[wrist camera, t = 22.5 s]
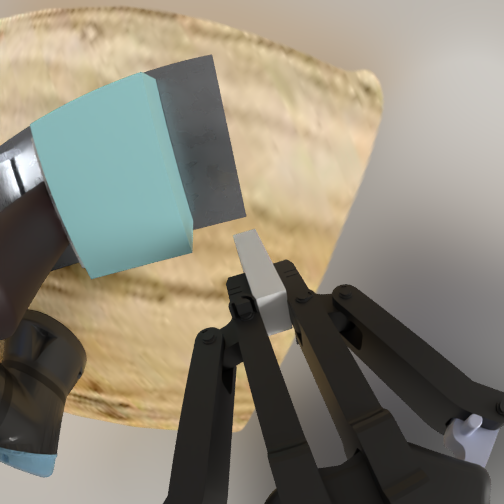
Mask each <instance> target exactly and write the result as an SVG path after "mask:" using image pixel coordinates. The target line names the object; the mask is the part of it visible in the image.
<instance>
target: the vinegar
mask: <svg viewBox="0 0 504 504" xmlns="http://www.w3.org/2000/svg"><path fill="white" fill-rule="evenodd" d="M69 244H70V242H69V240H68V238H67V235H66V233H65V231H64V229H63V227H62V224H61V221H60V219H59V217H58V215H57V213H56V210H55V208H54V206H53V203H52V201H51V198H50V196H49V193H48V190H47V188H46V185H45V182H44V181H42V182H41V183H39V184H38V185H36V186H35V187H33V188H32V189H30V190H29V191H28V192H26V193H25V194H23V195H22V196H21V197H19V198H18V199H17V200H15V201H14V202H13V203H11V204H10V205H9V206H7V207H6V208H5V209H3V210H2V211H1V212H0V340H4V339H6V338H9V337H11V336H12V335H13V334H14V333H15V331H16V329H17V327H18V325H19V323H20V321H21V320H22V318H23V316H24V314H25V312H26V310H27V309H28V307H29V305H30V303H31V302H32V300H33V298H34V297H35V295H36V293H37V292H38V290H39V288H40V287H41V285H42V283H43V282H44V280H45V279H46V277H47V276H48V274H49V272H50V271H51V269H52V268H53V266H54V265H55V263H56V262H57V261H58V259H59V258H60V256H61V255H62V253H63V252H64V251H65V249H66V248H67V246H68V245H69Z"/></svg>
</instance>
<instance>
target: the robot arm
mask: <svg viewBox="0 0 504 504" xmlns="http://www.w3.org/2000/svg"><path fill="white" fill-rule="evenodd" d="M233 237H234V241H235V244H236V248H237V251H238V255H239V258H240V262H241V265H242V269H243V272H244V273H243V274H239V275H236V276H232V277H229V278H228V280H227V283H226V286H227V290H228V295H229V299H230V303H229V310H230V313H231V315H232V319H231V321H230V322H229V323H228V324H227V325H226V326H225V327H223V328H221V329H220V330H219V329H217V328H214V327H210V328H206V329H204V330H202V331H200V332H199V333H198V335H197V337H196V339H195V344H194V349H193V353H192V358H191V363H190V368H189V373H188V378H187V384H186V389H185V394H184V399H183V405H182V410H181V416H180V422H179V427H178V433H177V440H176V445H175V451H174V458H173V464H172V471H171V478H170V484H169V491H168V496H167V498H166V500H165V501H164V503H163V504H227V498H228V485H229V469H230V454H231V439H232V425H233V410H234V396H235V382H236V368H237V367H236V365H238V364H240V363H241V362H244V366H245V370H246V374H247V378H248V382H249V386H250V389H251V393H252V397H253V401H254V404H255V408H256V412H257V416H258V419H259V422H260V426H261V430H262V434H263V437H264V440H265V444H266V448H267V452H268V460H269V463H270V467H271V470H272V474H273V477H274V481H275V484H276V487H277V488H276V489H275V490H274V491H273V492H272V493H271V494H270V496H269V497H268V498H267V500H266V502H265V504H490V491H491V479H490V476H489V474H488V472H487V470H486V469H484V468H485V465H486V463H487V461H488V458H489V456H490V453H491V450H492V448H493V445H494V442H495V440H496V437H497V434H498V431H499V429H500V428H501V427H502V426H503V425H504V392H501V391H498V390H495V389H493V388H490V387H487V386H484V385H481V384H479V383H476V382H474V381H472V380H471V379H470V378H468V377H467V376H466V375H465V374H464V373H463V372H461V371H460V370H459V369H458V368H457V367H455V366H454V365H453V364H452V363H450V362H449V361H448V360H447V359H446V358H444V357H443V356H442V355H441V354H440V353H438V352H437V351H436V350H435V349H434V348H432V347H431V346H430V345H428V344H427V343H426V342H425V341H424V340H422V339H421V338H420V337H419V336H417V335H416V334H415V333H413V332H412V331H411V330H410V329H409V328H407V327H406V326H404V324H402V323H401V322H400V321H399V320H397V319H396V318H395V317H393V316H392V315H391V314H389V313H388V312H387V311H386V310H384V309H383V308H382V307H381V306H379V305H378V304H377V303H375V302H374V301H373V300H371V299H370V298H369V297H367V296H366V295H365V294H364V293H362V292H361V291H360V290H358V289H357V288H356V287H354V286H352V285H347V284H345V285H340V286H337V287H336V288H335V289H334V290H333V292H332V294H321V295H320V294H316V293H314V292H313V291H312V290H310V289H308V287H307V285H306V284H305V282H304V280H303V279H302V277H301V276H300V274H299V272H298V271H297V270H296V267H295V266H294V264H293V263H292V262H290V261H288V260H283V261H280V262H277V263H274V264H273V263H272V261H271V259H270V257H269V255H268V253H267V251H266V249H265V247H264V245H263V243H262V241H261V240H260V238H259V236H258V234H257V232H256V230H255V229H253V230H249V231H246V232H242V233H239V234H236V235H233ZM292 325H293V327H294V329H295V335H296V342H297V344H299V345H300V347H301V349H302V351H303V354H304V356H305V358H306V360H307V363H308V365H309V367H310V369H311V372H312V374H313V376H314V379H315V381H316V383H317V385H318V388H319V390H320V392H321V395H322V397H323V399H324V401H325V404H326V406H327V408H328V410H329V413H330V415H331V417H332V419H333V422H334V424H335V426H336V429H337V431H338V433H339V436H340V438H341V440H342V443H343V446H344V451H345V454H346V457H347V459H348V460H347V461H346V462H344V463H343V464H341V465H339V466H334V467H326V468H317V465H316V463H315V460H314V458H313V455H312V452H311V450H310V447H309V445H308V443H307V441H306V438H305V436H304V433H303V431H302V428H301V425H300V422H299V420H298V417H297V414H296V412H295V409H294V406H293V403H292V401H291V398H290V395H289V393H288V390H287V387H286V384H285V381H284V379H283V376H282V373H281V370H280V368H279V365H278V362H277V359H276V356H275V354H274V351H273V348H272V345H271V342H270V340H269V337H268V336H270V335H273V334H276V333H279V332H283V331H286V330H289V329H292ZM348 348H350V349H351V350H352V351H353V352H354V353H355V354H356V355H357V356H358V357H359V358H360V359H361V360H362V361H363V362H364V363H365V364H366V365H367V366H368V367H369V368H370V369H371V370H372V371H373V372H374V373H375V374H376V375H377V376H378V377H379V378H380V379H381V380H382V381H383V382H384V383H386V385H387V386H388V387H389V388H390V389H392V390H393V391H394V392H395V393H396V394H397V395H398V396H399V397H400V398H401V399H402V400H403V401H404V402H405V403H406V404H407V405H408V406H409V407H410V408H411V409H412V410H413V411H414V412H415V413H416V414H417V415H418V416H419V417H420V418H421V419H422V420H423V421H424V422H426V423H427V424H428V425H429V426H430V427H431V428H433V429H434V430H436V431H437V432H439V433H441V434H443V435H444V446H445V447H446V448H447V449H449V450H450V451H452V452H453V454H454V455H455V458H453V457H450V456H447V455H444V454H441V453H438V452H435V451H432V450H429V449H426V448H423V447H421V446H418V445H415V444H413V443H409V442H407V441H406V439H405V438H404V436H403V434H402V432H401V430H400V428H399V426H398V425H397V423H396V421H395V419H394V417H393V416H392V414H391V413H390V412H389V411H388V410H387V409H383V408H382V407H381V405H380V403H379V402H378V400H377V398H376V396H375V395H374V393H373V391H372V389H371V387H370V386H369V384H368V382H367V380H366V378H365V377H364V375H363V373H362V372H361V370H360V368H359V366H358V365H357V363H356V361H355V360H354V358H353V356H352V354H351V352H350V351H349V349H348ZM86 360H87V358H86V353H85V350H84V348H83V346H82V344H81V343H80V341H79V340H78V339H77V338H76V336H75V335H74V334H73V333H72V332H71V331H70V330H68V329H67V328H66V327H65V326H64V325H62V324H61V323H59V322H58V321H56V320H55V319H53V318H51V317H49V316H47V315H45V314H43V313H40V312H36V311H32V310H26V312H25V314H24V316H23V318H22V320H21V321H20V323H19V325H18V327H17V329H16V331H15V333H14V334H13V335H12V336H11V337H9V338H6V339H5V344H4V353H3V360H2V363H0V462H2V463H4V464H7V465H9V466H11V467H14V468H16V469H19V470H22V471H24V472H28V473H30V474H33V475H36V476H40V477H49V476H50V475H52V473H53V470H54V464H55V459H56V457H57V449H58V441H59V435H60V428H61V422H62V416H63V411H64V406H65V401H66V398H67V396H68V394H69V393H70V391H71V390H72V389H73V387H74V386H75V384H76V383H77V381H78V379H80V377H81V376H82V374H83V372H84V368H85V365H86Z"/></svg>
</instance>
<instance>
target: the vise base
mask: <svg viewBox="0 0 504 504" xmlns="http://www.w3.org/2000/svg"><path fill="white" fill-rule="evenodd" d="M144 73H145V74H147V75H148V76H150V77H152V78H154V79H156V83H157V88H158V92H159V96H160V100H161V105H162V109H163V113H164V117H165V121H166V125H167V129H168V133H169V137H170V141H171V144H172V148H173V152H174V156H175V159H176V163H177V167H178V170H179V174H180V178H181V181H182V185H183V188H184V192H185V195H186V199H187V202H188V205H189V209H190V212H191V215H192V219H193V230H195V229H199V228H203V227H207V226H211V225H215V224H218V223H222V222H227V221H231V220H235V219H239V218H243V217H246V213H245V208H244V203H243V199H242V194H241V189H240V184H239V180H238V175H237V170H236V165H235V161H234V156H233V151H232V146H231V142H230V137H229V132H228V127H227V123H226V118H225V113H224V109H223V104H222V99H221V94H220V90H219V85H218V80H217V76H216V71H215V66H214V62H213V57H212V55H207V56H202V57H198V58H194V59H189V60H185V61H181V62H178V63H174V64H170V65H167V66H163V67H160V68H157V69H153V70H150V71H147V72H144ZM32 137H33V135H32V131H31V127H30V126H29V127H27V128H26V129H24V130H23V131H21V132H20V133H18V134H17V135H15V136H14V137H12V138H11V139H9V140H8V141H7V142H5V143H4V144H2V145H1V146H0V212H1V211H2V210H3V209H5V208H6V207H7V206H9V205H10V204H11V203H13V202H14V201H15V200H17V199H18V198H19V197H21V196H22V195H23V194H25V193H26V192H28V191H29V190H30V189H32V188H33V187H35V186H36V185H38V184H39V183H41V182H42V181H44V179H43V176H42V174H41V171H40V168H39V165H38V161H37V158H36V155H35V152H34V148H33V145H32V141H31V138H32ZM75 263H79V260H78V258H77V256H76V254H75V252H74V250H73V248H72V246H71V244H69V245H68V246H67V248H66V249H65V251H64V252H63V253H62V255H61V256H60V258H59V259H58V261H57V262H56V263H55V265H54V266H53V268H52V269H51V271H53V270H56V269H59V268H63V267H66V266H69V265H72V264H75Z"/></svg>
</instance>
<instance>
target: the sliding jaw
mask: <svg viewBox="0 0 504 504" xmlns="http://www.w3.org/2000/svg"><path fill="white" fill-rule="evenodd" d="M30 127H31V131H32V135H33V137H32V138H31V141H32V145H33V148H34V152H35V155H36V158H37V161H38V165H39V168H40V171H41V174H42V176H43V179H44V182H45V185H46V188H47V190H48V193H49V196H50V198H51V201H52V203H53V206H54V208H55V210H56V213H57V215H58V217H59V219H60V221H61V224H62V227H63V229H64V231H65V233H66V235H67V238H68V240H69V242H70V244H71V246H72V248H73V250H74V252H75V254H76V256H77V258H78V260H79V262H80V264H81V266H82V268H86V270H87V272H88V274H89V276H90V278H91V279H94V278H97V277H101V276H105V275H109V274H112V273H116V272H120V271H124V270H127V269H131V268H135V267H139V266H143V265H147V264H150V263H154V262H158V261H162V260H166V259H170V258H174V257H177V256H181V255H185V254H189V253H192V244H193V219H192V215H191V212H190V209H189V205H188V202H187V199H186V195H185V192H184V188H183V185H182V181H181V178H180V174H179V170H178V167H177V163H176V159H175V156H174V152H173V148H172V144H171V141H170V137H169V133H168V129H167V125H166V121H165V117H164V113H163V109H162V105H161V100H160V96H159V92H158V88H157V83H156V79H154V78H152V77H150V76H148V75H147V74H145V73H143V72H140V73H137V74H134V75H131V76H128V77H126V78H123V79H120V80H118V81H115V82H113V83H110V84H108V85H105V86H103V87H101V88H98V89H96V90H94V91H92V92H89V93H87V94H85V95H83V96H81V97H79V98H77V99H75V100H73V101H71V102H69V103H67V104H65V105H63V106H61V107H59V108H57V109H56V110H54V111H52V112H50V113H48V114H47V115H45V116H43V117H41V118H40V119H38V120H36V121H35V122H33V123H32V124H30Z"/></svg>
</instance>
